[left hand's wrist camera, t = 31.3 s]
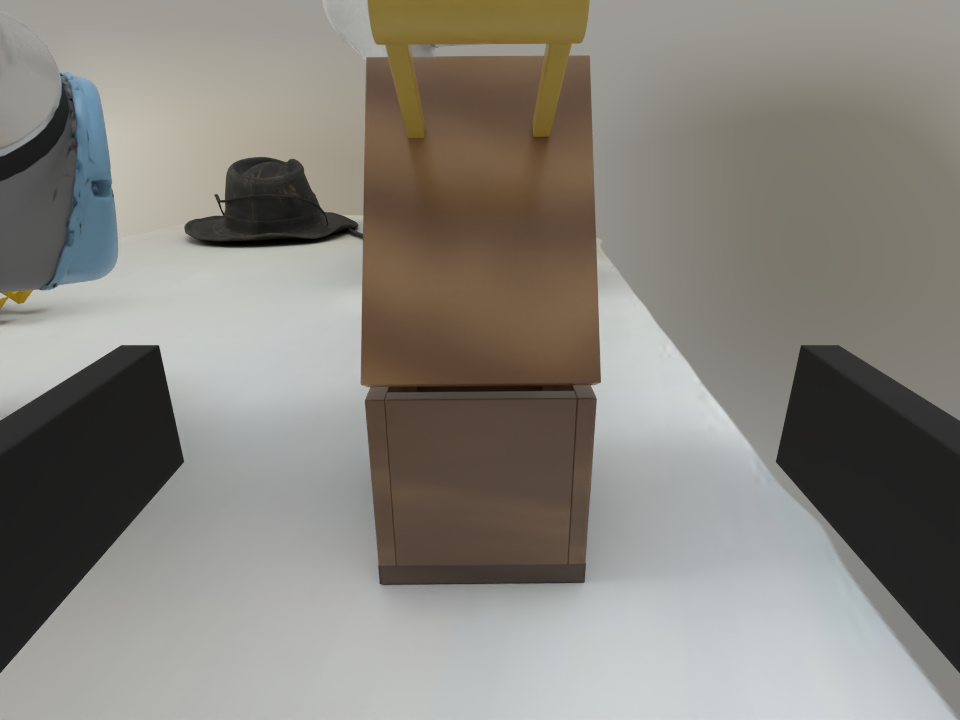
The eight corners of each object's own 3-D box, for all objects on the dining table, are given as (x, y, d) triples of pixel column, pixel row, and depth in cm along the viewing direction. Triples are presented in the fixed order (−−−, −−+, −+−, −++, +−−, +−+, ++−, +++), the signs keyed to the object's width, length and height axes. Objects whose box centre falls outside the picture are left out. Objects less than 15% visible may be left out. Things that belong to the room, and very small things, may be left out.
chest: (409, 444, 39) (402, 309, 36) (551, 442, 39) (556, 308, 36) (379, 584, 27) (364, 400, 24) (584, 582, 27) (597, 398, 24)
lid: (370, 73, 26) (310, -126, 17) (584, 71, 26) (643, -128, 17) (366, 387, 24) (296, 358, 15) (595, 385, 24) (666, 355, 15)
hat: (377, 220, 136) (373, 154, 131) (315, 248, 103) (306, 162, 98) (248, 218, 140) (238, 154, 135) (149, 245, 108) (132, 162, 103)
